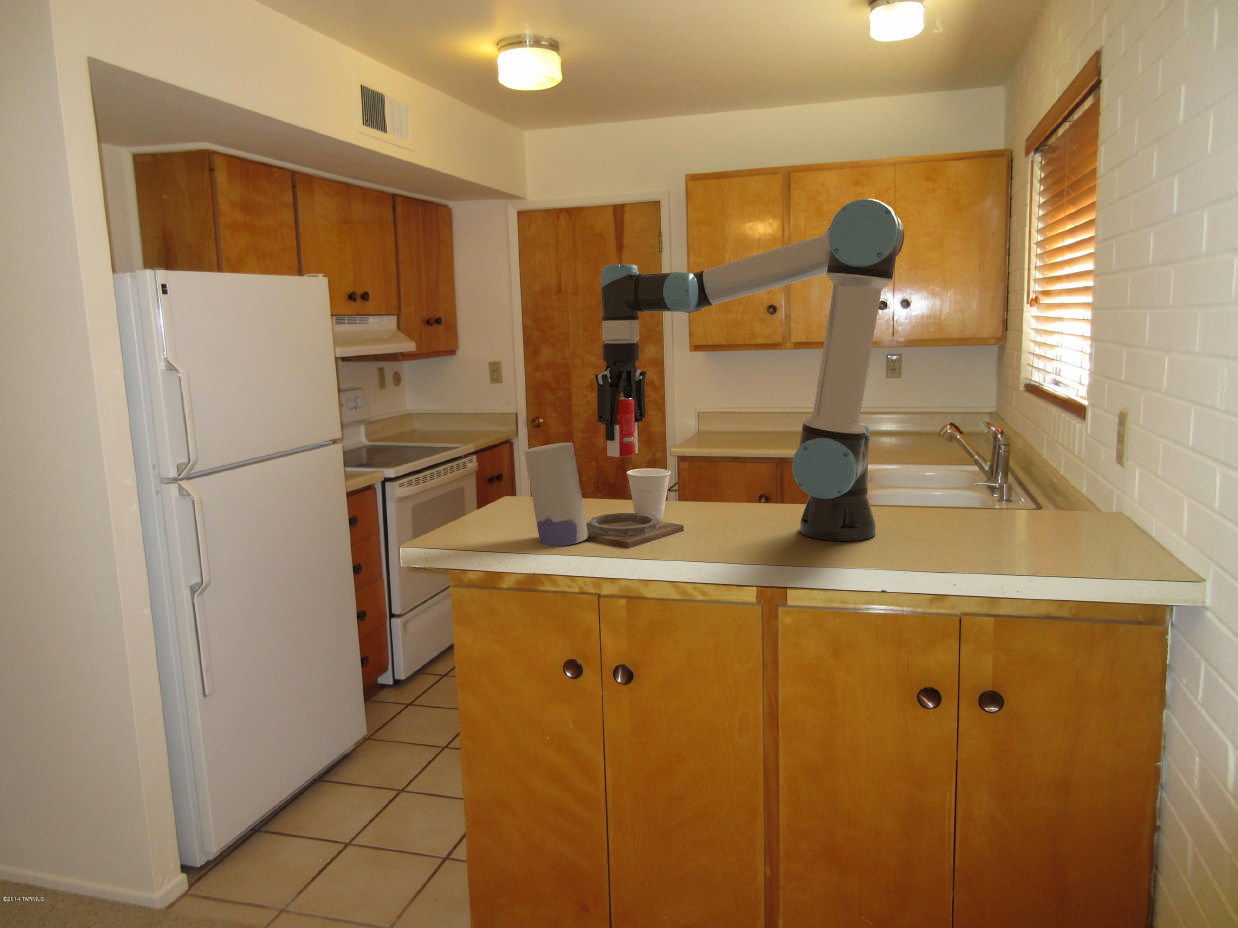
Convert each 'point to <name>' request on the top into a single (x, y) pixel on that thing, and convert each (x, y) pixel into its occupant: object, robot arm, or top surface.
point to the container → (556, 494)
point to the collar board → (634, 538)
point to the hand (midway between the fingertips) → (622, 454)
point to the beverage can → (626, 426)
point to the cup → (649, 490)
